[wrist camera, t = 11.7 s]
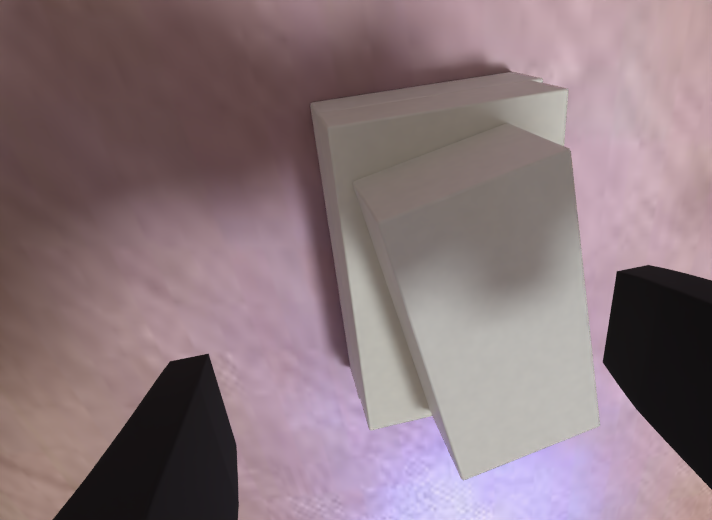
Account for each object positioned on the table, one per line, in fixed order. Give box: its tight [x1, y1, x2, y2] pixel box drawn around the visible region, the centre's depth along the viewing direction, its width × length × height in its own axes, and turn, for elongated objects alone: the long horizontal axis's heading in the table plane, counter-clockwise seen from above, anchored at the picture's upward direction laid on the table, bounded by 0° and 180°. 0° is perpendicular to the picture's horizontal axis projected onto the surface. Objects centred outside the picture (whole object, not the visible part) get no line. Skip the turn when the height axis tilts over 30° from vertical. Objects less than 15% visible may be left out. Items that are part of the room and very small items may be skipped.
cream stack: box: [310, 72, 568, 430], centre depth 17 cm, size 7×11×4 cm, turn 7°
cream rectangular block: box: [353, 123, 600, 480], centre depth 14 cm, size 4×9×3 cm, turn 18°
